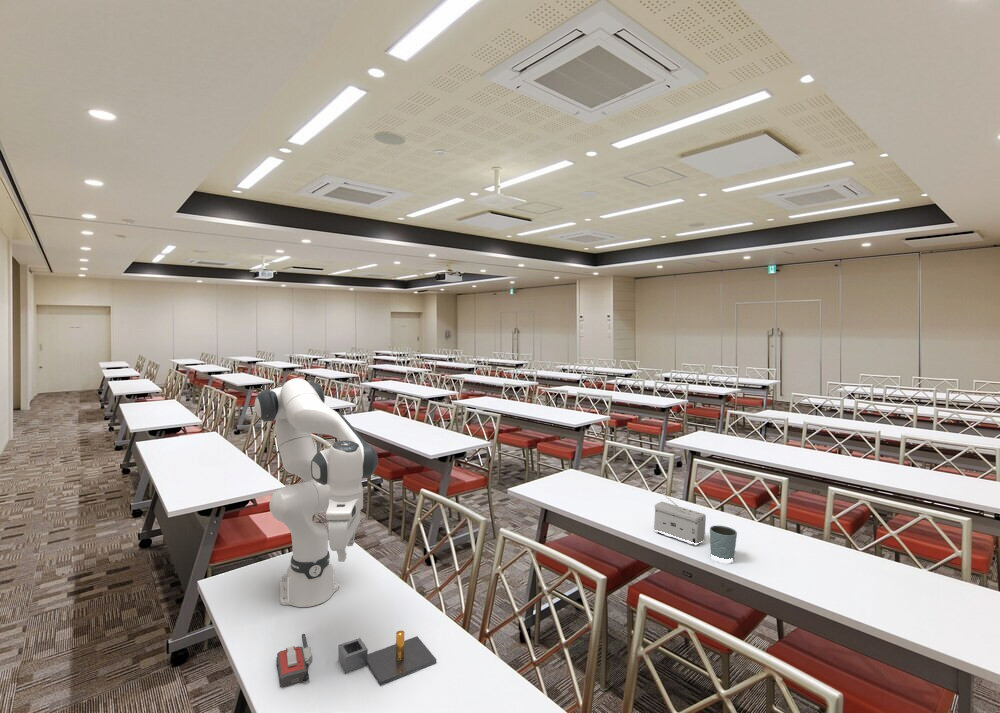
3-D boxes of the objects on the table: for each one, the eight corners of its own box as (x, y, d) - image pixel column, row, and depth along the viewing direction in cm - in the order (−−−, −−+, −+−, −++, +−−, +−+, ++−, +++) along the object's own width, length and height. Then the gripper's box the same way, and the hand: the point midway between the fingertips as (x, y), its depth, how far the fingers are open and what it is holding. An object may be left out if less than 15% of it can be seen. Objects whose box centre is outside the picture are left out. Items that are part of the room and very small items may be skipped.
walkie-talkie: (316, 682, 128) (307, 637, 146) (317, 665, 128) (307, 623, 145) (279, 693, 124) (274, 646, 141) (279, 676, 123) (274, 631, 141)
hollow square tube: (338, 660, 135) (338, 645, 135) (359, 653, 139) (360, 637, 139) (345, 674, 131) (345, 657, 130) (367, 665, 134) (367, 649, 134)
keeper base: (363, 659, 136) (363, 631, 136) (417, 639, 146) (417, 612, 145) (380, 686, 127) (380, 655, 126) (436, 662, 136) (436, 634, 135)
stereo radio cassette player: (705, 543, 217) (707, 498, 215) (696, 548, 211) (699, 502, 210) (660, 528, 232) (662, 485, 230) (651, 532, 226) (653, 489, 225)
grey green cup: (722, 566, 196) (724, 537, 195) (702, 555, 205) (704, 527, 204) (741, 562, 200) (742, 533, 199) (720, 551, 209) (722, 523, 208)
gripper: (343, 490, 144) (343, 537, 145) (323, 516, 124) (324, 570, 125) (365, 489, 145) (365, 536, 146) (349, 515, 124) (349, 569, 125)
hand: (346, 552), depth 135 cm, fingers open, 8 cm apart
